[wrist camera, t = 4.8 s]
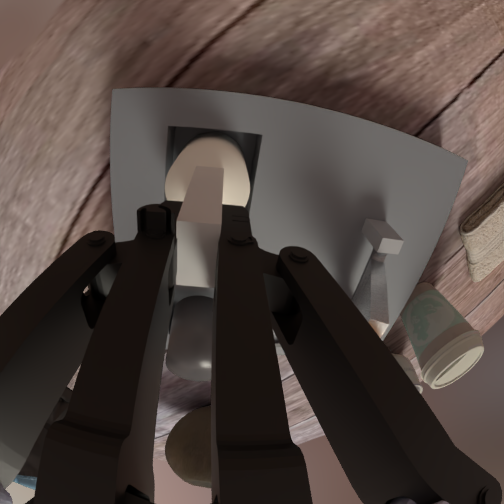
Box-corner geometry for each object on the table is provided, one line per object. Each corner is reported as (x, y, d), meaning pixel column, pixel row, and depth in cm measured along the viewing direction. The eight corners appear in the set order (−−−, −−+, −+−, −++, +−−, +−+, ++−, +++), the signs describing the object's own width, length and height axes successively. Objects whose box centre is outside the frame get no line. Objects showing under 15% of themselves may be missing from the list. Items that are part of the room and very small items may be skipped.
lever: (338, 302, 24) (317, 398, 16) (364, 240, 21) (359, 333, 12) (367, 311, 24) (357, 409, 15) (396, 251, 20) (409, 347, 12)
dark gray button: (174, 330, 26) (168, 378, 21) (172, 293, 23) (163, 344, 19) (224, 333, 27) (225, 382, 22) (228, 297, 24) (230, 349, 19)
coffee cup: (438, 262, 29) (492, 330, 19) (441, 301, 34) (482, 363, 24) (382, 295, 31) (426, 375, 21) (393, 330, 36) (426, 399, 26)
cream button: (178, 190, 21) (164, 224, 16) (182, 129, 19) (166, 145, 14) (239, 196, 22) (243, 230, 17) (249, 135, 19) (256, 152, 15)
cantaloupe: (206, 382, 38) (206, 477, 26) (266, 408, 45) (276, 484, 32) (154, 406, 43) (147, 482, 30) (212, 428, 49) (214, 494, 37)
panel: (140, 318, 30) (128, 367, 24) (131, 87, 17) (92, 91, 12) (365, 327, 34) (384, 369, 28) (441, 147, 22) (490, 172, 16)
